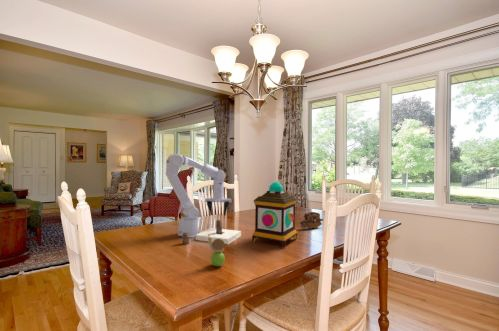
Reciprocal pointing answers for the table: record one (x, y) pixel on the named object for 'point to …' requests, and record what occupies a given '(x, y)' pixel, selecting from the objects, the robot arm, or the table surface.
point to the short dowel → (185, 238)
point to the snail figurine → (217, 251)
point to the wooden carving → (311, 220)
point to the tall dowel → (218, 226)
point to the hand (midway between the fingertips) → (218, 215)
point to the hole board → (219, 235)
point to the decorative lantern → (275, 215)
